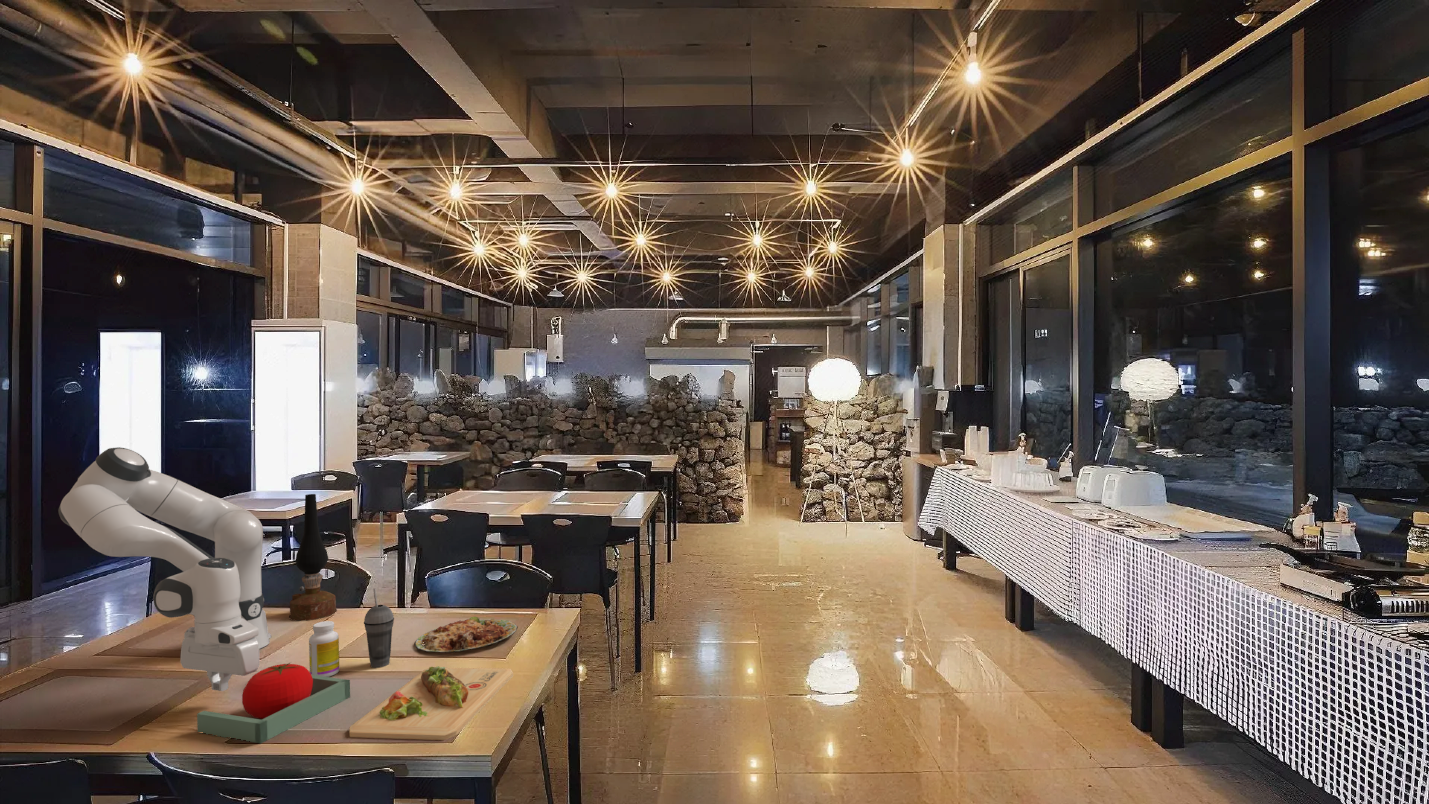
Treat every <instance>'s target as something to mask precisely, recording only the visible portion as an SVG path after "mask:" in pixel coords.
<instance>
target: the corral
mask: <svg viewBox="0 0 1429 804" xmlns="http://www.w3.org/2000/svg"><path fill="white" fill-rule="evenodd" d="M312 679H313V687H312V691H311V695H310V696H309V697H307V698H305V699H303V700H301V701H299V702H297V703H295V704H293V705H291V706H289V707H287V708H285V709H283V710H281V711H278V712H276V713H274V714H272V715H270V716H268V717H266V718H264V719H260V718H252V717H248V716H247V717H246V716H239V715H234V714H228V713H222V712H221V713H220V712H215V711H207V710H202V711H200V712H198V713H197V714H196V716H197V717H196V718H197V719H196V721H197V722H196V723H197V725H196V726H197V730H196V731H197V733H198V732H203V733H206V734H205V735H208V734H213V735H212V736H214V735H217V736H216V737H220V736H221V737H220V738H226V737H231V738H236V739H235V740H237V739H241V740H240V741H243V740H246V741H245V742H249V741H250V742H249V743H257V744H263V743H265V742H266V740H267V741H269V740H271V739H272V738H274V737H276V736H278V735H280V734H282V733H284V732H285V731H288V730H290V729H292V728H293V727H296V726H297V725H299V724H301V723H302V722H305V721H306V720H307V721H308V719H310V718H313V717H315V716H317V715H318V714H321V713H323V712H324V711H326V710H328V709H330V708H332V707H333V706H336V705H337V704H340V703H341V702H343V701H345V700H347V699H349V698H351V679H345V678H338V677H331V676H329V677H323V676H315V675H312ZM231 738H230V739H231Z"/></svg>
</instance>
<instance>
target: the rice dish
mask: <svg viewBox="0 0 1429 804" xmlns="http://www.w3.org/2000/svg"><path fill="white" fill-rule="evenodd" d="M517 630H518V626H517V624H516V623H515V622H512V621H510V620H504V619H494V618H493V619H492V618H491V619H480V618H479V617H477V616H472V617H470V618H469V619H468V618H467V619H466V620H461V619H460V620H457V621H454V622H449V623H448V624H446V625H444V626H439V627H436V628H434V629H431V630H430V631H427V632H425V633H423V634H422V635H421V636H418V638H416V641H415V642H414V646H415V647H416V648H417V649H418V650H421V651H426V652H435V653H436V652H440V653H445V652H446V653H458V652H465V651H467V650H470V649H471V650H472V649H473V650H474V649H478V648H482V647H487V646H491V645H493V644H495V643H498V642H500V641H503V640H504V639H507V638H509V637H510V636H512V635H513V634H515V632H517ZM423 642H424V643H423ZM422 644H425V646H423V645H422ZM425 647H426V648H425ZM449 650H450V651H449Z"/></svg>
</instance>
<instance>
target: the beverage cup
mask: <svg viewBox="0 0 1429 804" xmlns="http://www.w3.org/2000/svg"><path fill="white" fill-rule="evenodd" d="M372 590H373V597H374V604H375V605H374V606H372V607H371V608H370V609H368V611H367V612H366V613H365V616H364V621H363V625H364V628H365V629H364V630H365V632H366V640H367V651H368V656H369V658H368V660H369V662H370V668H372V669H373V668H375V669H377V668H383V667H386V666H388V665H390V661H391V659H390V658H391V651H392V635H393V634H392V633H393V626H394V620H395V617H394V612H393V611H392V609H391V608H390V607H389V606H388V605H384V604H378V599H377V589H376V588H373V589H372Z"/></svg>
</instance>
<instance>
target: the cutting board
mask: <svg viewBox="0 0 1429 804" xmlns="http://www.w3.org/2000/svg"><path fill="white" fill-rule="evenodd" d="M513 677H514V672H513V670H512V668H499V667H498V668H496V667H495V668H494V667H493V668H491V667H489V668H488V667H487V668H486V667H484V668H483V667H454V666H453V667H451V666H450V667H447V666H438V665H437V666H429V667H428V668H426V669H424V670H422V671H421V672H419V673H418V674H417V675H415V676H414V677H413V678H412V679H410V680H409V681H407V682H406V683H405V684H404V685H403V686H401V687H400V688H398V689H397V690H396V691H394V692H393V693H392V694H391V695H390V696H388V697H387V698H386V699H384V700H383V701H381V703H378V705H377V706H375V707H374V708H372V709H371V710H370V711H368V712H367V713H366V714H365V715H363V716H362V717H360V718H359V719H358V720H356V721H355V722H354V723H353V724H351V725H350V726H349V737H350V738H368V739H373V738H374V739H396V740H399V739H400V740H401V739H402V740H430V741H431V740H432V741H446V740H448V739H450V738H453V737H456V736H457V735H458V734H460V733H461V731H462V730H464V728H465V727H466V726H467V725H469V723H470V722H471V721H472V720H473V719H474V718H475V717H474V716H477V715H478V713H480V711H482V710H483V708H485V706H486V705H488V704H489V702H490V701H491V700H492V699H493V698H494V697H495V696H496V695H497V694H498V693H499V692H500V691H501V690H502V689H503V688H504V687H505V686H506V685H507V684H508V683H509V681H510V680H512V678H513ZM502 687H503V688H502ZM501 688H502V689H501ZM499 690H500V691H499ZM496 693H497V694H496ZM468 722H469V723H468Z"/></svg>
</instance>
